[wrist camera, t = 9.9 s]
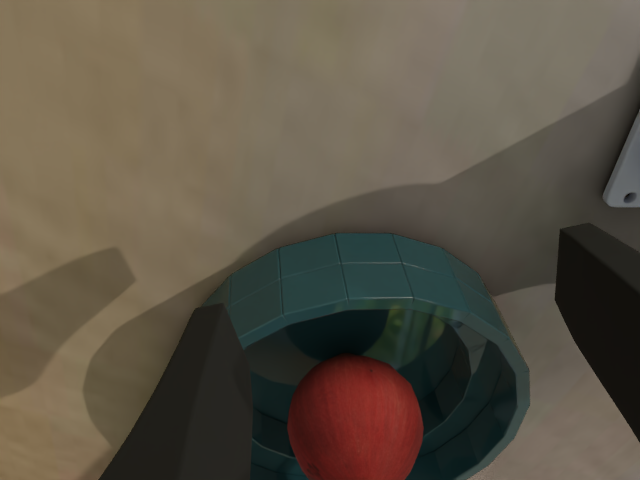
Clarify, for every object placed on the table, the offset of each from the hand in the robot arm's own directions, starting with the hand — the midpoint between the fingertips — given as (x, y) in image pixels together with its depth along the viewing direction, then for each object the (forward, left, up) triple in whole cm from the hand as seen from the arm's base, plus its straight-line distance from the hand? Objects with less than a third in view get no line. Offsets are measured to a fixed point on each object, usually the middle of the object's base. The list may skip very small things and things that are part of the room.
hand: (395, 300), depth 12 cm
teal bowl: (-2, +13, -10) cm, 17 cm away
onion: (-2, +13, -10) cm, 17 cm away
